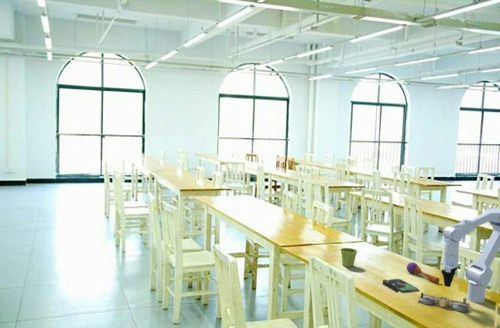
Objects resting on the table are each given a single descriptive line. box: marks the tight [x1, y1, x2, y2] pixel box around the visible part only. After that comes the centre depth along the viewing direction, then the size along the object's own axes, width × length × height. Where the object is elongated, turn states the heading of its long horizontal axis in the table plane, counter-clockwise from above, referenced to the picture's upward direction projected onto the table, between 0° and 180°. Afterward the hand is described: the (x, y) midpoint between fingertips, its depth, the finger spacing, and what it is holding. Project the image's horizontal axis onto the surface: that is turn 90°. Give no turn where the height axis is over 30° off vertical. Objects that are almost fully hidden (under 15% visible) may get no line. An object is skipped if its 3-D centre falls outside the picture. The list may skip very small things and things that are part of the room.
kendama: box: [406, 261, 440, 285], centre depth 244 cm, size 6×6×20 cm
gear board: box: [417, 292, 470, 314], centre depth 205 cm, size 13×20×5 cm, turn 61°
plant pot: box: [340, 247, 358, 268], centre depth 258 cm, size 9×9×9 cm
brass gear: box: [435, 296, 451, 309], centre depth 203 cm, size 6×6×3 cm
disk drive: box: [382, 278, 420, 294], centre depth 225 cm, size 10×3×15 cm
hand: (448, 284), depth 207 cm, fingers open, 7 cm apart
